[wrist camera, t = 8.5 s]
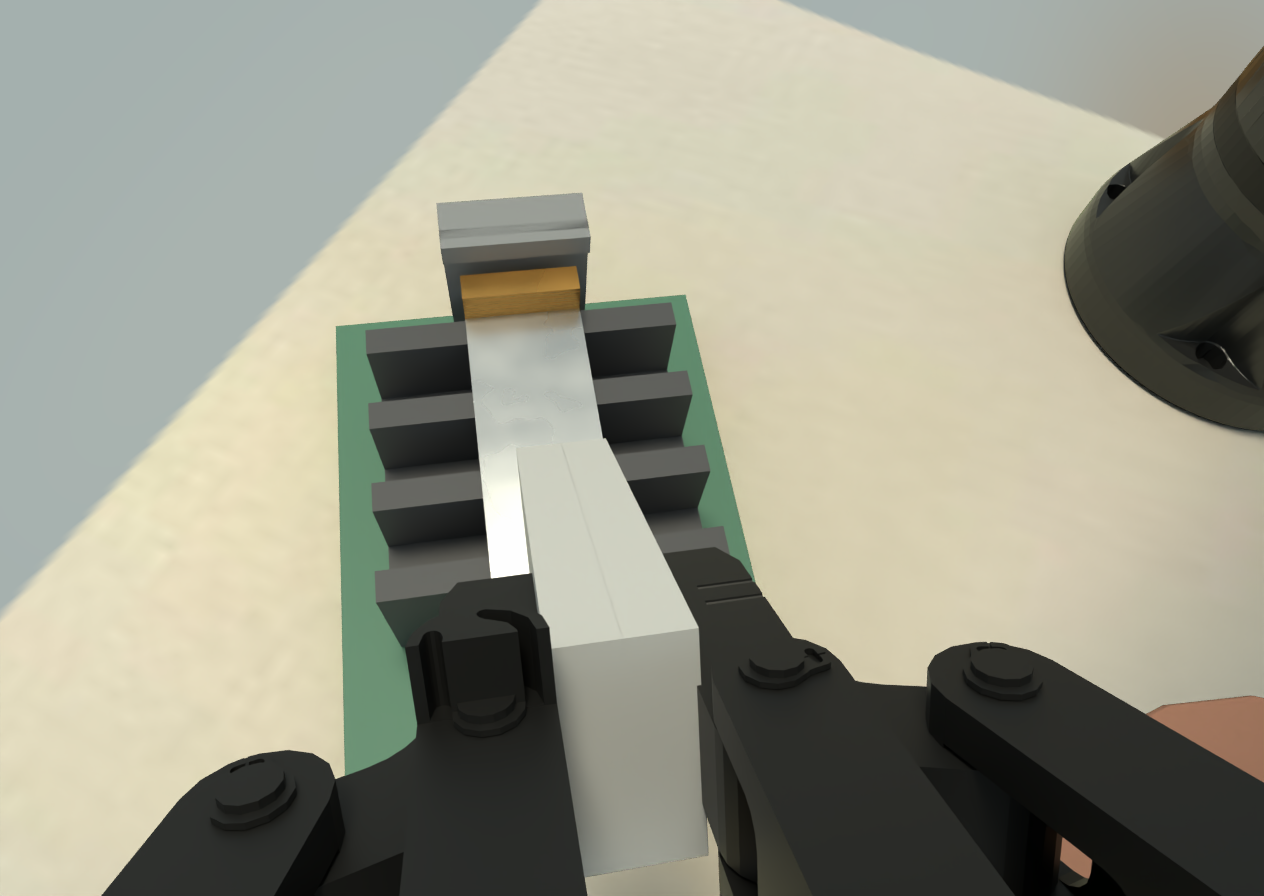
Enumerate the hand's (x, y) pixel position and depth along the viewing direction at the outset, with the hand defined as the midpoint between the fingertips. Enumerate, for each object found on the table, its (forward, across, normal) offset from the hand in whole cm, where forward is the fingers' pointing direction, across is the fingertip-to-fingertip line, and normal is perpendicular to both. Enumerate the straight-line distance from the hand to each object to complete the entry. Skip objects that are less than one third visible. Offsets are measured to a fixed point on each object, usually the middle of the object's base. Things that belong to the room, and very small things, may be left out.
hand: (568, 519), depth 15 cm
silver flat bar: (+13, 0, -4) cm, 14 cm away
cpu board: (+19, 0, -8) cm, 20 cm away
